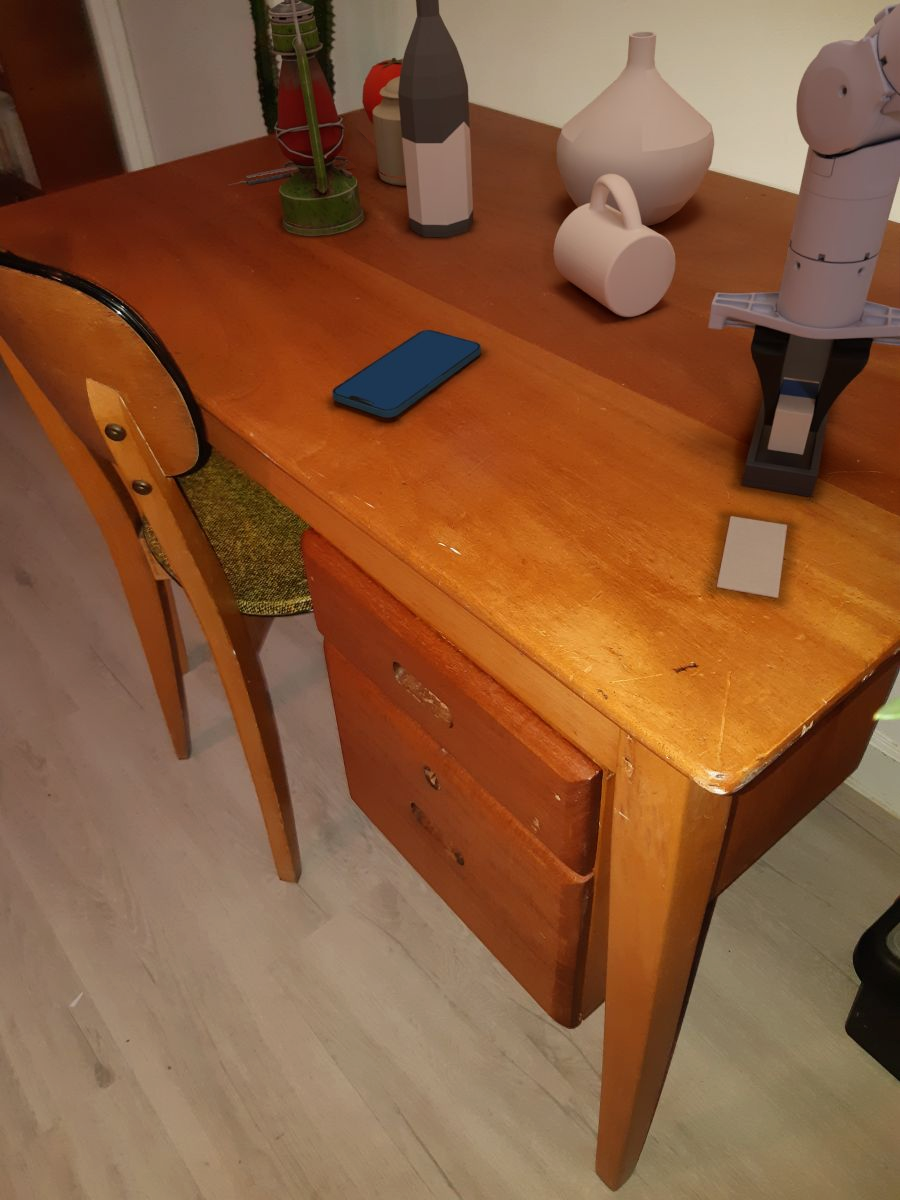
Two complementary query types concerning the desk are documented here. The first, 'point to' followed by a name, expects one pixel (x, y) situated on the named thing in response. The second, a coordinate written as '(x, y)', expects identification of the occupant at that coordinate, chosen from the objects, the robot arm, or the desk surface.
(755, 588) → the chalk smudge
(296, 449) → the desk surface
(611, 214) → the mug
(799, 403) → the eraser
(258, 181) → the syringe
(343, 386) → the smartphone
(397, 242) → the desk surface
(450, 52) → the wine bottle
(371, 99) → the tomato
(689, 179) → the vase
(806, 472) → the tray
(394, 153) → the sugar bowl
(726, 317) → the robot arm
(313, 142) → the lantern
